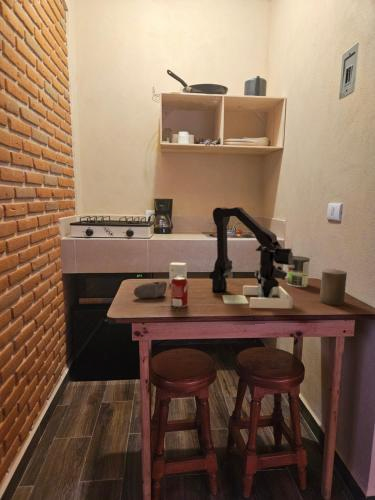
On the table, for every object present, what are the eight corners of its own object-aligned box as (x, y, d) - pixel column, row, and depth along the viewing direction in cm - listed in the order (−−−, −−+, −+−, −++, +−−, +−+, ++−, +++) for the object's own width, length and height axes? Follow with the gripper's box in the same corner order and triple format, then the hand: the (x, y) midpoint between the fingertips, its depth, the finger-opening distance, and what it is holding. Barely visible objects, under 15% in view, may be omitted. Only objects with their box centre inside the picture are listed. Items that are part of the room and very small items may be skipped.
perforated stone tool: (134, 300, 135) (134, 285, 134) (133, 297, 140) (133, 282, 139) (168, 298, 139) (168, 283, 138) (166, 294, 144) (166, 280, 143)
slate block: (260, 302, 134) (261, 286, 133) (257, 298, 139) (258, 283, 138) (271, 302, 134) (272, 286, 133) (269, 299, 139) (269, 283, 138)
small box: (186, 282, 165) (186, 262, 163) (184, 285, 160) (184, 265, 158) (171, 281, 167) (172, 262, 165) (169, 284, 161) (169, 264, 159)
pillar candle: (345, 306, 130) (348, 271, 128) (319, 303, 134) (322, 269, 131) (342, 300, 139) (345, 267, 137) (318, 297, 143) (321, 265, 140)
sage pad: (224, 303, 132) (224, 302, 132) (222, 296, 142) (222, 295, 142) (248, 304, 132) (248, 302, 132) (244, 296, 142) (244, 295, 142)
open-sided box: (250, 307, 128) (250, 298, 127) (242, 294, 146) (243, 285, 145) (292, 308, 128) (293, 299, 127) (280, 294, 146) (280, 286, 145)
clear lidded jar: (292, 287, 158) (293, 260, 155) (283, 282, 168) (285, 256, 165) (311, 287, 159) (313, 259, 156) (302, 281, 169) (303, 255, 166)
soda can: (181, 309, 125) (181, 280, 123) (167, 306, 128) (167, 278, 126) (190, 304, 131) (190, 276, 129) (177, 301, 134) (177, 274, 132)
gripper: (292, 267, 125) (290, 304, 127) (279, 258, 143) (277, 291, 146) (264, 266, 125) (262, 304, 127) (255, 257, 143) (253, 290, 146)
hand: (264, 297), depth 137 cm, fingers closed on slate block, 5 cm apart
